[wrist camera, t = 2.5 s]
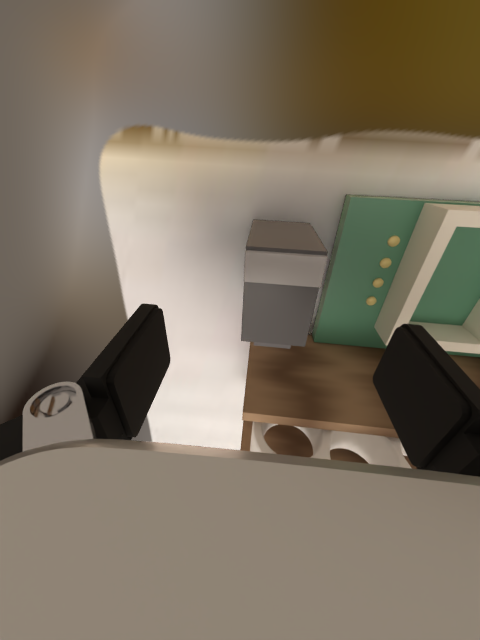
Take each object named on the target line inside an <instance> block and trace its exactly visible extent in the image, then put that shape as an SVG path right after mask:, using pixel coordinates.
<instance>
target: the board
mask: <svg viewBox="0 0 480 640" xmlns="http://www.w3.org/2000/svg"><path fill="white" fill-rule="evenodd" d="M402 324H415V325H421V326H423V327H424V328H425V329H426V331H427V332H428V333H429V334H430V335H431V336H432V337H433V338H434V339H435V340H436V342H437V343H438V344H439V345H440V346H441V347H442V348H443V349H444V350H445V351H446V352H447V354H449V355H460V356H471V357H480V202H473V201H454V200H435V199H417V198H398V197H380V196H361V195H346V198H345V202H344V206H343V210H342V214H341V218H340V222H339V226H338V230H337V234H336V238H335V242H334V247H333V251H332V255H331V259H330V263H329V267H328V271H327V275H326V279H325V283H324V287H323V291H322V295H321V299H320V303H319V307H318V311H317V315H316V320H315V324H314V328H313V332H312V336H313V340H314V342H319V343H330V344H340V345H351V346H362V347H373V348H384V349H386V348H387V345H388V343H389V341H390V339H391V337H392V335H393V333H394V331H395V329H396V328H397V327H400V326H401V325H402Z"/></svg>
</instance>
